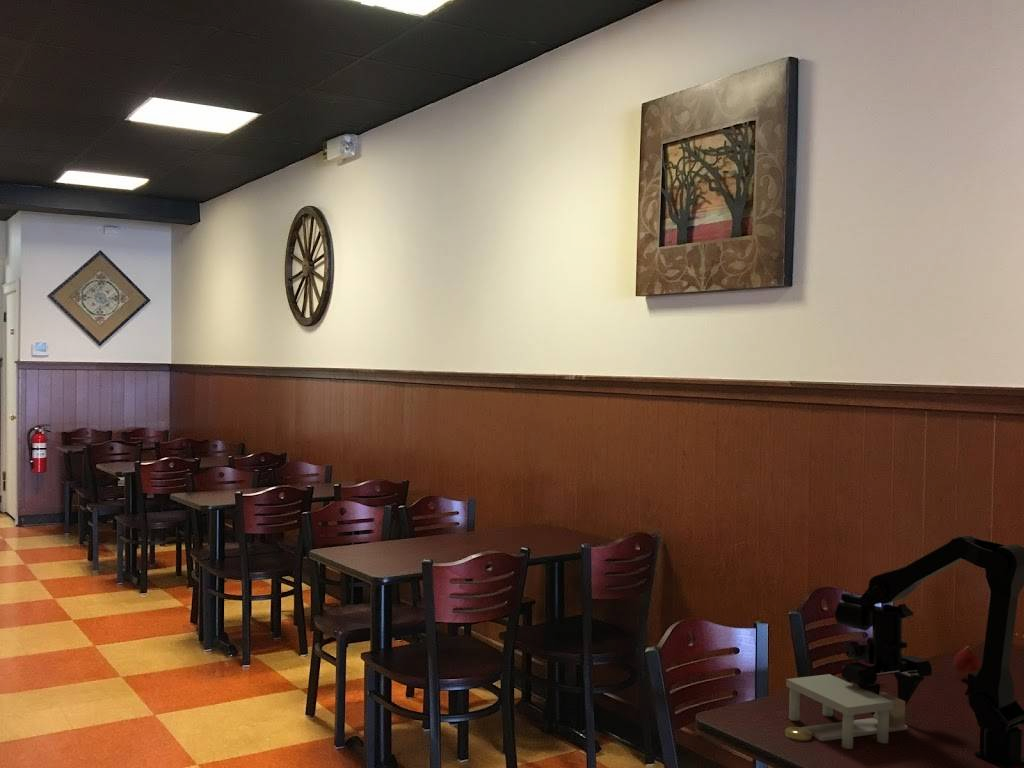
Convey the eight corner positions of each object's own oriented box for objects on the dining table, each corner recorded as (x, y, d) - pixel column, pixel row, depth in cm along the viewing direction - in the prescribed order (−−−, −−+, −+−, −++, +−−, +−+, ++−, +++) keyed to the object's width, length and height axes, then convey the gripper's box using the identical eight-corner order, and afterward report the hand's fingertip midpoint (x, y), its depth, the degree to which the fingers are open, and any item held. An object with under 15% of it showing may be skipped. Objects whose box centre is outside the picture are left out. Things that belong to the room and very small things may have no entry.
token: (817, 739, 189) (817, 732, 189) (800, 743, 186) (800, 737, 186) (796, 731, 193) (796, 725, 193) (779, 735, 190) (779, 729, 190)
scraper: (907, 731, 195) (908, 701, 195) (822, 742, 187) (822, 711, 187) (885, 720, 200) (886, 691, 200) (802, 732, 193) (802, 701, 193)
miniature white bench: (892, 742, 187) (893, 701, 187) (846, 749, 183) (848, 707, 183) (828, 712, 204) (829, 674, 204) (785, 718, 200) (786, 679, 199)
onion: (947, 677, 231) (948, 643, 231) (964, 674, 233) (965, 641, 233) (968, 684, 225) (969, 650, 225) (985, 681, 228) (986, 647, 228)
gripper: (893, 621, 209) (892, 694, 209) (823, 629, 202) (822, 704, 202) (934, 634, 199) (933, 710, 199) (861, 643, 191) (861, 722, 192)
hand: (886, 711), depth 198 cm, fingers open, 7 cm apart
